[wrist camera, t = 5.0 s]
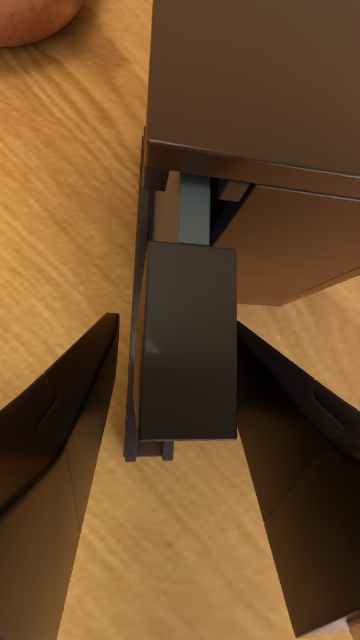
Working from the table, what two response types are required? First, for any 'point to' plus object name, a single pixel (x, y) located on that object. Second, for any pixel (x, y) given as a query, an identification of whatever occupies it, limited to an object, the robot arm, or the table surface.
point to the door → (186, 323)
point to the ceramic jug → (34, 19)
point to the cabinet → (256, 145)
